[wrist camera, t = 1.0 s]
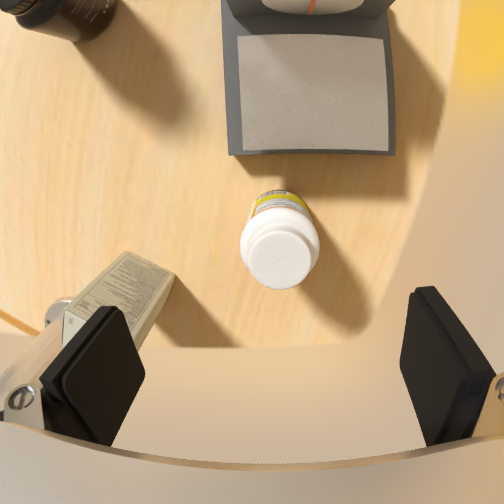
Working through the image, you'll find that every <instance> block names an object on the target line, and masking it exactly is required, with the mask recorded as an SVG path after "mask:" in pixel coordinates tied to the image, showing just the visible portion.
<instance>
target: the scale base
mask: <svg viewBox="0 0 504 504" xmlns="http://www.w3.org/2000/svg"><path fill="white" fill-rule="evenodd" d="M394 1H395V0H221V13H222V37H223V59H224V80H225V99H226V118H227V136H228V153H229V156H231V155H251V154H284V153H342V154H374V155H394V156H395V99H394V80H393V66H392V55H391V45H390V36H389V27H388V20H387V13H386V10H387V8H388V7H389V6H390V5H391V4H392V3H393V2H394ZM273 34H321V35H341V36H354V37H365V38H375V39H383V44H384V54H385V66H386V80H387V99H388V151H378V150H353V149H271V150H245V151H243V136H242V117H241V98H240V79H239V59H238V40H237V37H238V36H252V35H273Z"/></svg>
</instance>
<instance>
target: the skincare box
mask: <svg viewBox="0 0 504 504" xmlns="http://www.w3.org/2000/svg"><path fill="white" fill-rule="evenodd" d="M174 279H175V274H174V273H171V272H170V271H167V270H165V269H163V268H161V267H159V266H157V265H155V264H153V263H151V262H149V261H147V260H145V259H143V258H141V257H139V256H136V255H134V254H132V253H130V252H127V251H124V252H123V253H122V254H121V255H120V256H119V257H117V258H116V259H115V260H114V261H113V262H112V263H111V264H110V265H109V266H108V267H107V268H106V269H104V270H103V271H102V272H101V273H100V274H99V275H98V276H97V277H96V278H95V279H94V280H93V281H92V282H91V283H89V284H88V285H87V286H86V287H85V288H84V289H83V290H82V291H81V292H80V293H79V294H78V295H77V296H76V297H75V298H74V299H73V300H72V301H71V302H70V303H69V304H68V305H67V306H66V307H65V308H64V313H63V322H62V334H61V345H62V346H63V347H65V346H66V345H67V343H68V342H69V341H70V340H71V339H72V338H73V336H74V335H75V334H76V333H77V332H78V331H79V329H80V328H81V327H82V326H83V325H84V324H85V323H86V321H87V320H88V319H89V318H90V317H91V316H92V315H93V314H94V312H95V311H96V310H97V309H98V308H99V307H100V306H117V307H118V308H119V310H121V311H122V312H123V313H124V316H125V319H126V322H127V325H128V327H129V330H130V333H131V336H132V338H133V341H134V344H135V346H136V349H137V352H138V351H139V349H140V347H141V345H142V344H143V342H144V340H145V338H146V336H147V335H148V333H149V331H150V329H151V328H152V326H153V324H154V322H155V321H156V319H157V317H158V315H159V314H160V312H161V310H162V309H163V307H164V305H165V303H166V300H167V298H168V295H169V293H170V290H171V287H172V285H173V282H174Z"/></svg>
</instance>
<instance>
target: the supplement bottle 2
mask: <svg viewBox="0 0 504 504" xmlns="http://www.w3.org/2000/svg"><path fill="white" fill-rule="evenodd" d="M319 250H320V242H319V236H318V233H317V230H316V228H315V225H314V222H313V220H312V217H311V214H310V212H309V209H308V207H307V205H306V204H305V202H304V201H303V200H302V199H301V198H300V197H299V196H298V195H296V194H294V193H293V192H290V191H287V190H272V191H269V192H266V193H264V194H263V195H261V196H260V197H259V198H258V199H257V200H256V201H255V202H254V203H253V205H252V207H251V209H250V212H249V215H248V218H247V221H246V223H245V226H244V229H243V232H242V235H241V239H240V253H241V257H242V260H243V262H244V264H245V266H246V267H247V269H248V270H249V271H250V272H251V273H252V275H253V276H254V278H255V279H256V280H257V281H258V282H259V283H261V284H262V285H264V286H266V287H268V288H272V289H279V290H282V289H288V288H292V287H294V286H296V285H298V284H299V283H301V282H302V281H303V280H304V279H305V277H306V276H307V275H308V273H309V272H310V271H311V269H312V268H313V267H314V265H315V264H316V261H317V259H318V256H319Z"/></svg>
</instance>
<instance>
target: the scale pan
mask: <svg viewBox="0 0 504 504" xmlns="http://www.w3.org/2000/svg"><path fill="white" fill-rule="evenodd" d="M237 40H238V59H239V79H240V98H241V117H242V136H243V151H245V150H271V149H353V150H378V151H388V99H387V80H386V66H385V54H384V44H383V39H375V38H365V37H354V36H341V35H321V34H273V35H252V36H238V37H237Z"/></svg>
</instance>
